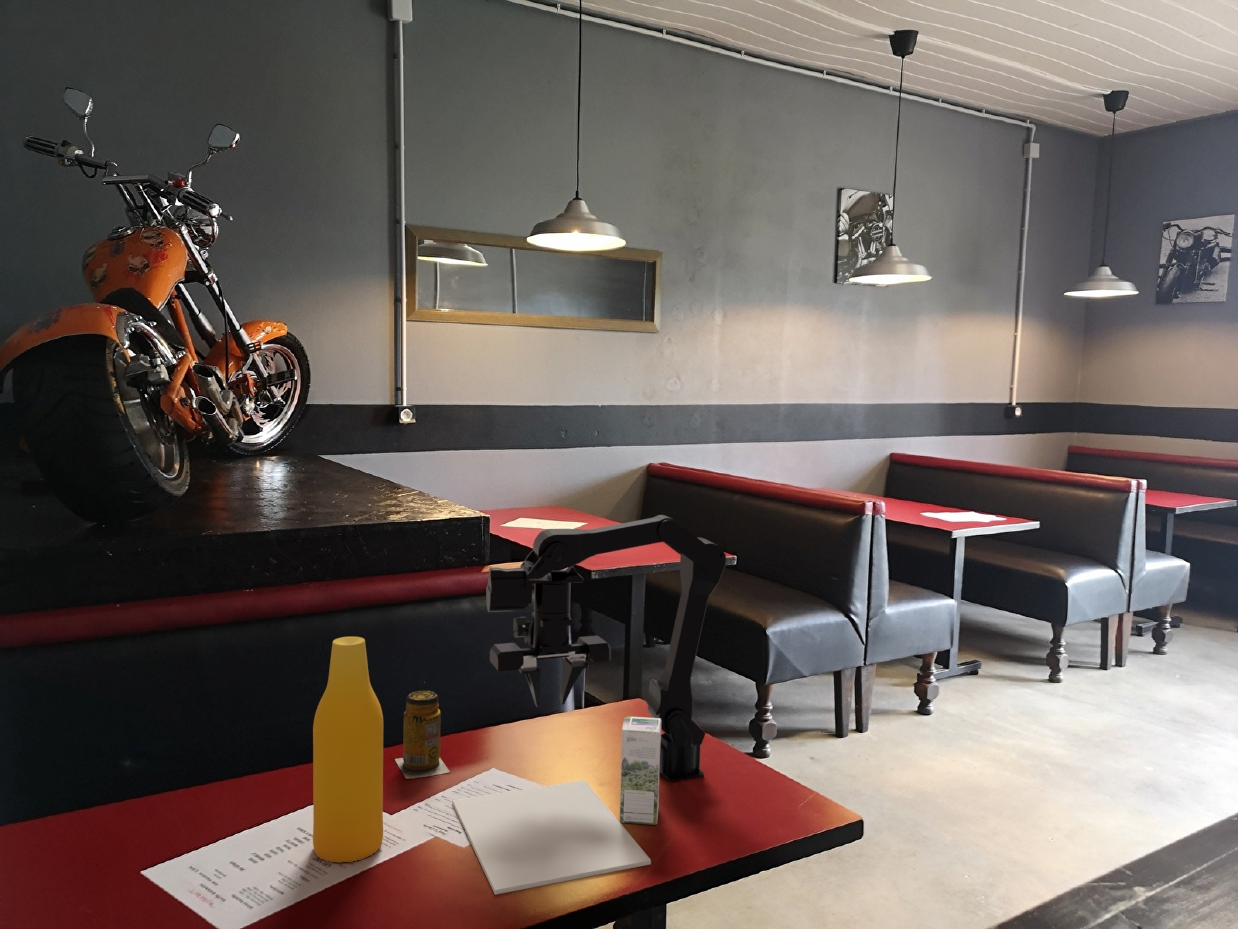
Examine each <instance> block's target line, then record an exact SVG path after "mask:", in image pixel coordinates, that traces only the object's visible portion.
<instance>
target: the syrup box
mask: <svg viewBox="0 0 1238 929" xmlns="http://www.w3.org/2000/svg"><path fill="white" fill-rule="evenodd" d="M661 734H662V729H661V718H652V717H642V716H628V715H627V716H624V719H623V723H622V730H621V752H620V753H621V755H620V756H621V757H620V758H621V760H620V761H621V762H620V763H621V764H620V786H619V787H620V789H619V790H620V792H619V822H620V823H621V824H623V823H625V824H637V825H638V824H639V825H652V826H655V825H657V824H658V816H659V807H660V806H659V804H660V802H659V801H660V800H659V799H660V798H659V796H660V795H659V794H660V772H659V768H660V745H661Z"/></svg>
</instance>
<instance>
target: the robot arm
mask: <svg viewBox="0 0 1238 929" xmlns="http://www.w3.org/2000/svg"><path fill="white" fill-rule="evenodd" d="M659 543H664V544H665V545H666V546H668V547H669V548H670V549H672V550H673V551H674V552H676V553H677V554H678V555H680V557H679V559H680V560H679V561H680V562H679V574H680V583H681V593H680V597H679V603H678V606H677V611H676V615H675V616H676V618H675V621H674V624H673V625H674V626H673V631H672V635H671V639H670V644H669V649H668V653H667V656H666V657H667V658H666V662H665V667H664V671H663V673H662V674H661V676H660V677H659V678H658V680H657V679H654V678H650V679H649V683H648V684H649V686H648V693H647V696H646V698H645V699H644V702H645V703H646V704H647V712H648V713H649V715H650V718H661V732H664V733H661V745H660V768H659V774H661V775H662V776H663V777H664V778H665V779H666V780H667V781H668V782H675V781H682V780H688V779H689V780H690V779H696V777H697V778H702V777H704V776H705V772H704V771H702V770H701V745H702V744H703V742H704V739H705V735H706V732H705V730H704V729H702V728H701V726H700V725H699V724H698V723H697V722H696V721H695V720H694V719H693V706H694V699H693V689H692V676H693V670H694V668H695V667H694V666H695V662H696V657H697V653H698V650H699V649H698V648H699V643H700V639H701V633H702V630H703V625H704V622H705V621H704V620H705V617H706V616H705V615H706V611H707V606H708V602H709V598H710V596H711V595H712V594H713V592H714V591H715V590H716V588H717V586H718V585H719V583H720V580H721V578H722V576H723V574H724V572H725V568H726V565H727V554H726V553H725V551H724V550H723V548H722V547H721V546H719V545H718V544H716V543H714V542H712V541H710V540H708V539H706V538H703V537H697V536H696V535H694V534H692V533H691V532H690V531H688V530H687V529H685V528H683V526H681V525H680V524H678V522H677V521H676V520H675V519H674V518H671V517H670V516H668V515H664V514H658V515H656V516H654V517H649V518H645V519H640V520H633V521H629V522H627V521H626V522H622V523H618V524H612V525H611V524H610V525H606V526H601V527H596V528H589V529H580V528H579V529H578V528H576V529H575V528H548V529H543V530H541V531H540V532H538V534H537V535H536V537H535V538H534V541H533V545H532V546H533V547H532V550H531V551H530V552H529V554H528V555H527V556H526V558H525V559H524V561H523V562H522V563H521V564H520V567H516V568H501V567H490V568H489V569H488V571H489V572H488V574H489V575H488V579H487V585H486V588H485V589H486V590H485V591H486V592H485V595H486V609H487V612H488V613H498V612H499V613H501V612H502V613H503V612H524V611H525V608H529V605H531V604H532V600H534V602H533V612H532V613H531V620H530V621H528V618H527V617H526V616H520V617H519V616H518V617H514V618H513V622H512V627H513V628H512V632H513V637H514V638H524V643H525V644H526V643H527V644H528V645H529V646H532V647H527V648H521V647H520V646H518V644H517V643H516V642H508V643H507V642H506V643H495V644H493V645H492V646H491V648H490V650H489V662H490V663H491V665H492V666H493V667H494V668H495V669H496V671H499V672H510V671H519V673H520V674H523V675H524V676H525V677H526V678H525V679H526V680H527V683H528V686H529V689H530V692H531V696H532V699H533V702H534V705H535V707H536V708H540V707H541V706H540V705H541V700H542V698H541V697H542V696H541V695H542V694H541V693H542V692H541V691H542V688H541V685H542V684H541V682H542V681H541V680H542V679H541V675H542V674H541V672H542V671H541V668H540V667H538V663H537V662H538V661H539V660H549V659H559V658H560V663H561V664H560V665H561V675H560V676H561V677H560V687H559V702H560V705H565V704H566V701H567V700H568V698H569V696H570V693H571V691H572V690H573V687H574V685H575V683H576V681H577V680H578V678H579V677H580V676H581V674H582V672H583V670H584V669H588V668H589V663H588V662H587V661H586V658H587V656H588V658H589V659H590V660H591V662H593V663H600V662H601V663H603V662H610V661H611V660H612V648H611V645H610V644H609V642H607V641H606V640H604V639H603V638H602V637H600V636H599V635H589V636H578V639H577V640H576V643H573V644H572V643H570V631H571V630H570V626H572V625H573V619H572V618H571V588H572V587H571V586H572V585H571V584H574V583H578V584H579V583H583V582H584V581H585V580H584V577H582V576H581V575H580V574H579V573H578V571H577V570H576V568H575V567H574V566H577V565H579V564H580V563H583V562H584V561H586V560H588V559H589V558H591V557H594V556H597V555H601V554H607V553H608V554H609V553H612V552H617V551H623V550H627V549H633V548H638V547H644V546H649V545H655V544H659ZM533 585H534V590H533ZM533 591H534V596H533ZM533 597H534V598H533ZM537 660H538V661H537Z"/></svg>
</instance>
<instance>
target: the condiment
mask: <svg viewBox="0 0 1238 929" xmlns="http://www.w3.org/2000/svg"><path fill="white" fill-rule="evenodd" d="M439 699H440V698H439V695H438V694H437V693H436V692H435V691H431V690H417V691H413V692H411V693H409V694H408V695H407V697H406V705H405V708H406V709H405V711H404V713H403V743H402V746H403V747H402V748H403V749H402V750H403V751H402V756H403V757H399V758H395V759H394V760H395V763H396V764H397V767H398V768H399V770H400V771H401V774H402V775H403V776H404V778H405V779H409V780H410V779H417V778H418V779H419V778H425V777H433V776H437V775H443V774H447V773H451V771H450V770H449V768H448V766H446V764H445V762H444V761H443V760H442V758H441V724H442V723H441V722H442V721H441V710H440V709H439V705H440V704H439Z"/></svg>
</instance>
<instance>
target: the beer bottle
mask: <svg viewBox="0 0 1238 929" xmlns="http://www.w3.org/2000/svg"><path fill="white" fill-rule="evenodd" d="M331 645H332V646H331V654H330V663H329V669H328V670H329V672H328V679H327V685H326V688H325V691H324V692H323V694H322V697H321V698H320V701H319V702H318V705H317V708H316V710H315V713H314V714H315V715H314V719H313V725H312V733H313V734H312V738H313V739H312V745H313V750H312V752H313V753H312V754H313V756H312V758H313V759H312V761H313V762H312V763H313V764H312V765H313V768H312V769H313V772H312V774H313V776H312V777H313V778H312V780H313V781H312V782H313V786H312V787H313V789H312V793H313V795H312V796H313V800H312V802H313V803H312V804H313V805H312V806H313V812H312V813H313V814H312V815H313V823H312V824H313V828H312V829H313V830H312V845H313V846H312V847H313V849H314V850H313V851H314V853H315V855H316V856H317V857H318V858H319V857H320V859H321V860H322V859H324V860H323V861H325V860H327V861H326V862H328V861H331V862H330V863H332V862H349V863H354V862H353V861H355V862H358V861H357V860H359V861H361V859H362V860H364V858H365V859H367V858H369V857H371V856H372V855H374V854H375V853H376V852H377V851H378V850H379V849H380V847H381V845H382V843H383V839H384V819H383V818H384V813H383V812H384V808H383V807H384V805H383V804H384V800H383V799H384V792H383V791H384V715H383V711H382V706H381V703H380V701H379V699H378V697H377V694H376V693H375V691H374V689H373V687H372V685H371V682H370V675H369V674H370V673H369V669H368V668H369V667H368V666H369V665H368V664H369V663H368V656H367V648H366V640H365V638H363V637H360V636H342V637H339V638H335V639H334V640H333V641H332V644H331ZM373 853H374V854H373ZM370 855H371V856H370ZM368 856H369V857H368ZM366 857H367V858H366Z"/></svg>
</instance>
